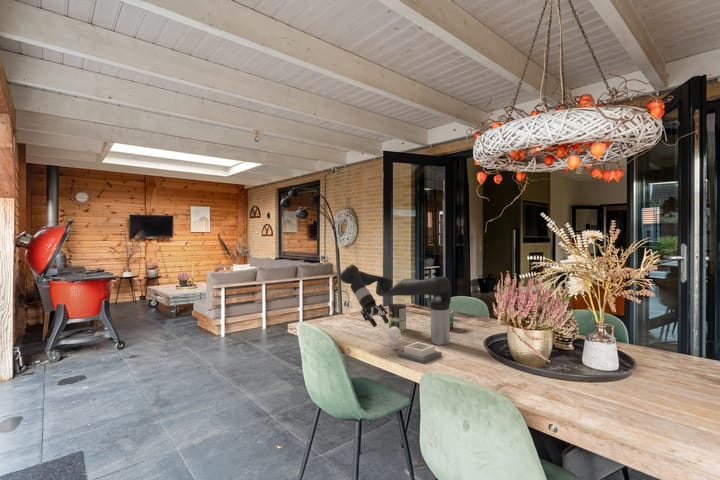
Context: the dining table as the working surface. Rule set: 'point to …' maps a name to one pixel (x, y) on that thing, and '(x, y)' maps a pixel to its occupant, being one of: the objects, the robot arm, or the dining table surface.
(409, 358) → the socket stand
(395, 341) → the lightbulb
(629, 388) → the dining table surface
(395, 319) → the coffee can
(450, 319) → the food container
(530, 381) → the dining table surface
